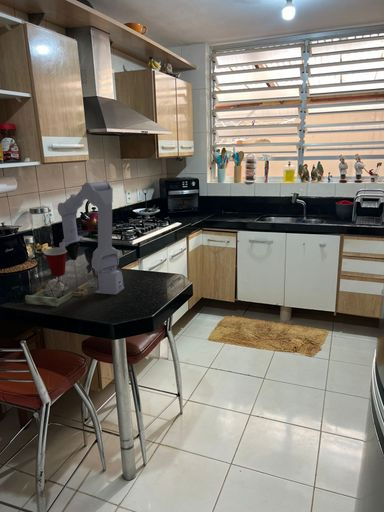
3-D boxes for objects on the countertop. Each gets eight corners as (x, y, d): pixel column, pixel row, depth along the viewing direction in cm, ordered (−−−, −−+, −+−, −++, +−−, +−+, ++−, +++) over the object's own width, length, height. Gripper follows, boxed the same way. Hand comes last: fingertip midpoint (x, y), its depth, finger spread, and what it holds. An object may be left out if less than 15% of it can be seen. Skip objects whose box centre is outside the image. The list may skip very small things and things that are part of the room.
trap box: (97, 286, 159) (96, 280, 159) (66, 307, 139) (65, 299, 138) (53, 283, 166) (52, 277, 165) (17, 302, 146) (16, 295, 145)
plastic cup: (51, 279, 171) (48, 254, 168) (43, 274, 179) (39, 250, 176) (74, 274, 178) (71, 249, 175) (65, 269, 186) (61, 246, 183)
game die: (56, 304, 152) (58, 281, 155) (70, 300, 147) (71, 276, 151) (37, 301, 144) (39, 276, 148) (51, 296, 140) (52, 271, 144)
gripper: (71, 226, 172) (75, 254, 175) (51, 232, 159) (56, 263, 162) (85, 226, 170) (88, 255, 173) (66, 233, 157) (70, 264, 160)
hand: (73, 259), depth 168 cm, fingers closed
